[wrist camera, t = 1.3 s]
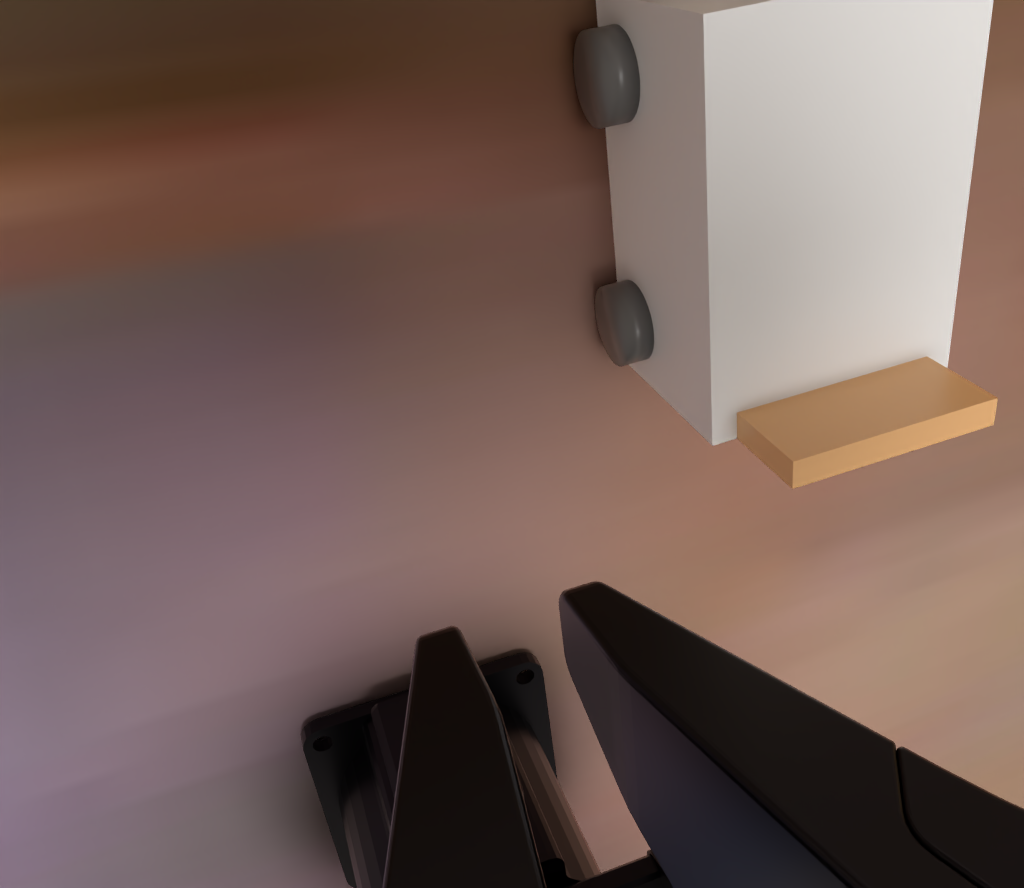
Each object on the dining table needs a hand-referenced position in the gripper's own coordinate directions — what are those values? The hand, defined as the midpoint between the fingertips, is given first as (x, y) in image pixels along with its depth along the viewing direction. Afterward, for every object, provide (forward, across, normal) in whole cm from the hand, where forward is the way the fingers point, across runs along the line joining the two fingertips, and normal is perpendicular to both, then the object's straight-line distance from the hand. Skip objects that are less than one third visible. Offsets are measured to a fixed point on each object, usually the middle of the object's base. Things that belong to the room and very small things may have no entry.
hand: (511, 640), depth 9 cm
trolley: (+12, -9, 0) cm, 15 cm away
